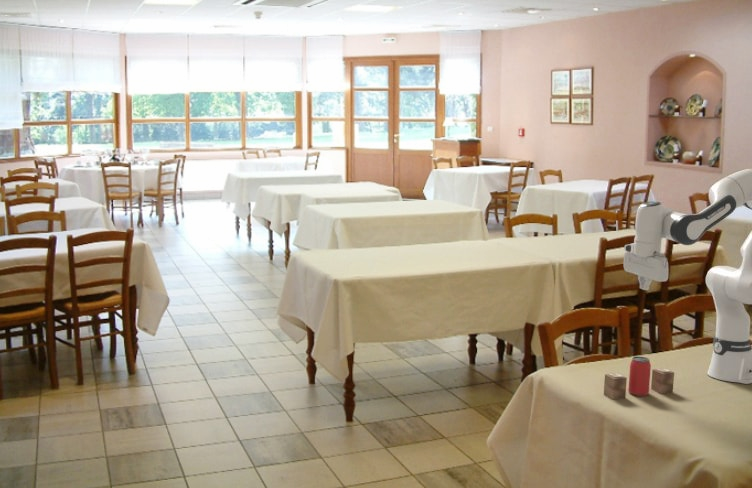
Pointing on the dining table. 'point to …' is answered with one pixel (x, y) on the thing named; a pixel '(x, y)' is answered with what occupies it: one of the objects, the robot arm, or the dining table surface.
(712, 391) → the dining table surface
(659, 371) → the walnut block
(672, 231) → the robot arm
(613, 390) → the walnut block
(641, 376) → the beer can
